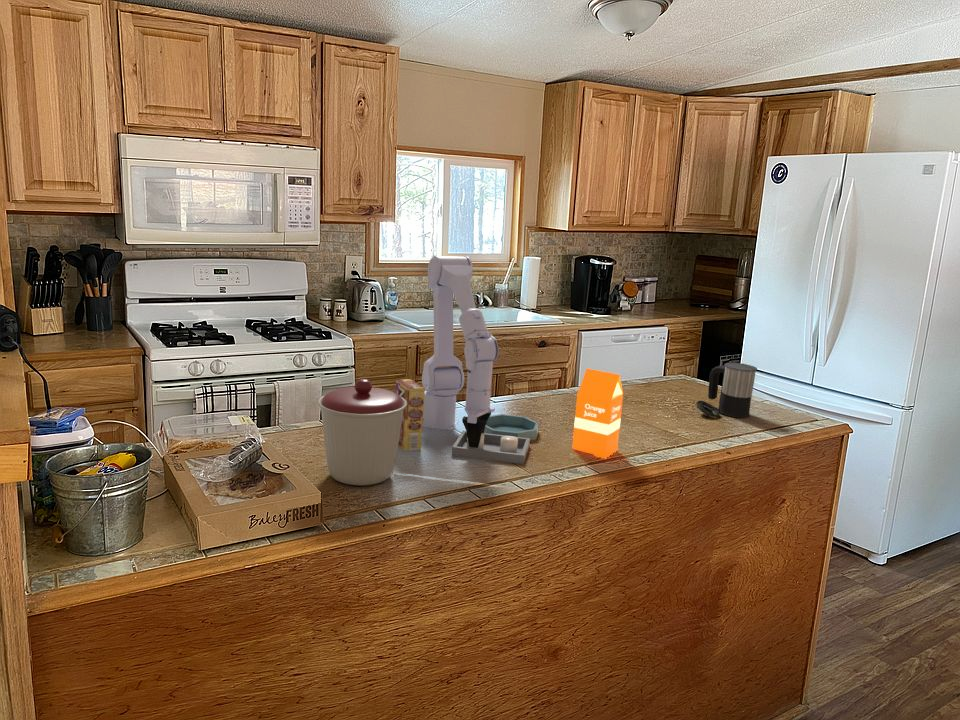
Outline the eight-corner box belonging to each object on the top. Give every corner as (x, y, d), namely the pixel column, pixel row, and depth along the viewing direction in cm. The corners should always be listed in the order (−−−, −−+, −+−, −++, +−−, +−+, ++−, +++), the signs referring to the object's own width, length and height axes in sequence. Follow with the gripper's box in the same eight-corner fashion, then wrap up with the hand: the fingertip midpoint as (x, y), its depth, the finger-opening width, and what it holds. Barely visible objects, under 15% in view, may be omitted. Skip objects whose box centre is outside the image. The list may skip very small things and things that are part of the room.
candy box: (422, 451, 172) (425, 388, 168) (405, 452, 170) (408, 389, 166) (409, 439, 179) (411, 378, 176) (392, 440, 177) (394, 379, 174)
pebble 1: (465, 450, 172) (466, 436, 171) (468, 445, 176) (469, 431, 175) (481, 452, 172) (482, 438, 171) (484, 446, 175) (485, 433, 175)
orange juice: (605, 459, 174) (613, 377, 169) (571, 450, 178) (578, 370, 174) (617, 450, 180) (626, 371, 176) (584, 442, 185) (592, 365, 180)
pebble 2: (498, 454, 171) (499, 440, 170) (501, 448, 175) (502, 434, 174) (515, 456, 170) (516, 442, 170) (517, 450, 174) (518, 436, 173)
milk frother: (753, 413, 221) (760, 366, 218) (740, 425, 208) (748, 375, 205) (706, 404, 229) (712, 358, 226) (691, 415, 216) (697, 366, 212)
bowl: (475, 440, 181) (475, 428, 181) (484, 423, 196) (485, 412, 195) (534, 446, 179) (535, 435, 179) (539, 429, 193) (540, 418, 193)
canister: (408, 492, 147) (413, 391, 143) (316, 495, 143) (317, 391, 139) (399, 460, 164) (403, 369, 160) (316, 462, 161) (318, 368, 156)
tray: (451, 457, 169) (452, 447, 168) (462, 440, 181) (462, 430, 180) (523, 466, 166) (524, 455, 165) (529, 448, 178) (530, 438, 178)
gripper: (490, 398, 163) (486, 455, 166) (500, 382, 177) (496, 436, 180) (459, 394, 164) (456, 452, 167) (471, 379, 178) (468, 433, 181)
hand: (475, 443), depth 174 cm, fingers closed on pebble 1, 4 cm apart
